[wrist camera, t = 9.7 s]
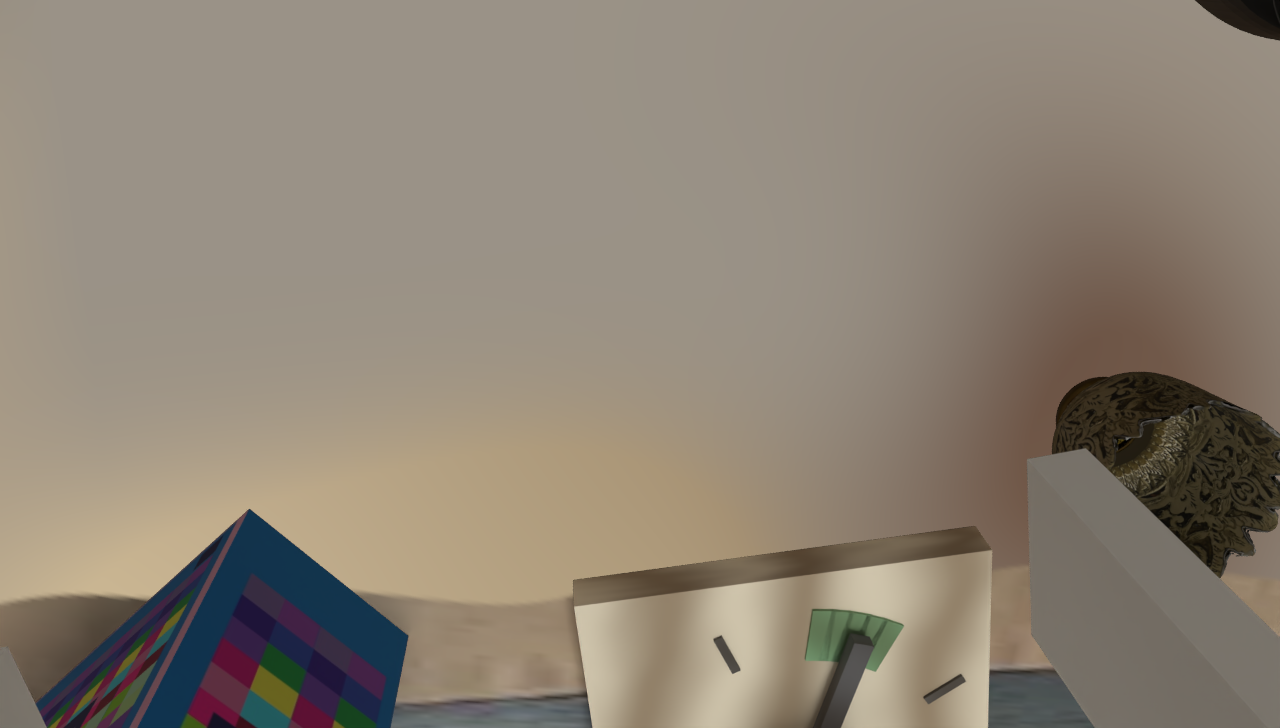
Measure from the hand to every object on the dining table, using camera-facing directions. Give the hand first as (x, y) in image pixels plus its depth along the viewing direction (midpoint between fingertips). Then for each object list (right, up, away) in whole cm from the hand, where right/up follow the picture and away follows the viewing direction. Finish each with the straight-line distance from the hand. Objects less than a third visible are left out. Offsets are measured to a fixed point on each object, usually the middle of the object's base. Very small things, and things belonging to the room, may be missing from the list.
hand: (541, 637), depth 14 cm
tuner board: (+8, -15, +38) cm, 41 cm away
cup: (+21, +2, +32) cm, 38 cm away
